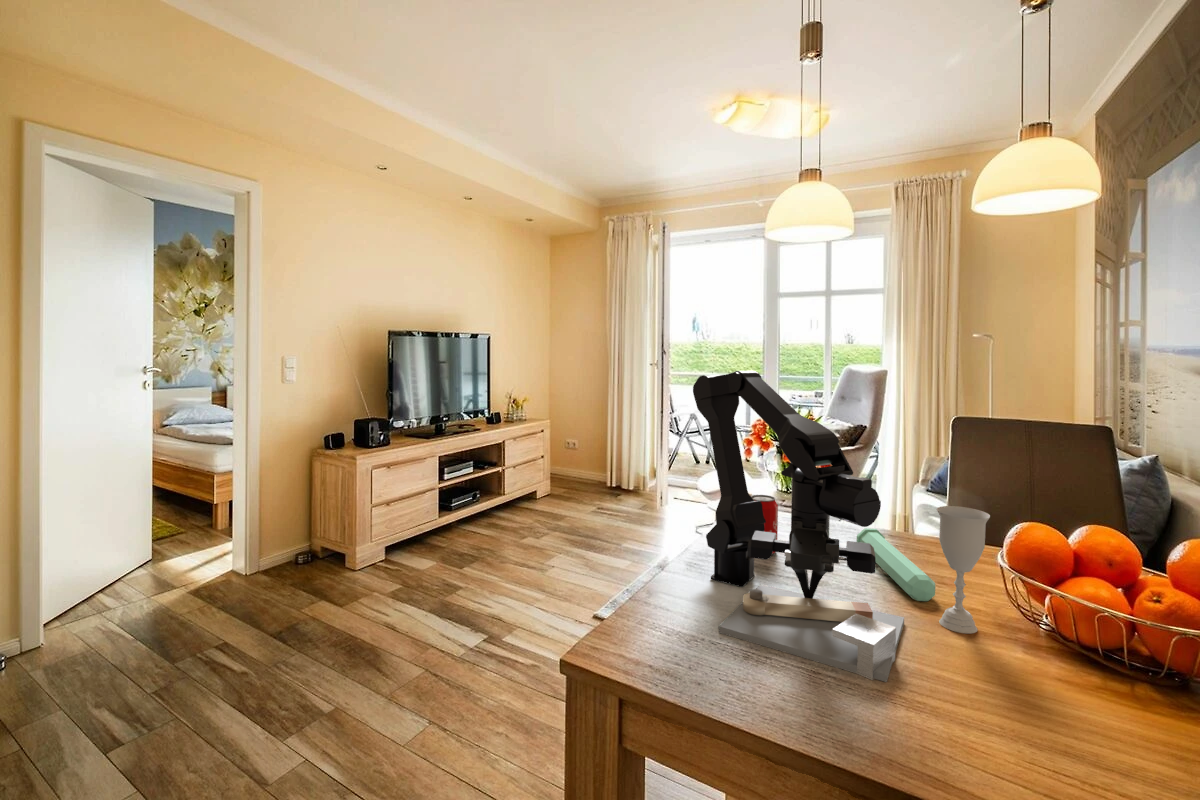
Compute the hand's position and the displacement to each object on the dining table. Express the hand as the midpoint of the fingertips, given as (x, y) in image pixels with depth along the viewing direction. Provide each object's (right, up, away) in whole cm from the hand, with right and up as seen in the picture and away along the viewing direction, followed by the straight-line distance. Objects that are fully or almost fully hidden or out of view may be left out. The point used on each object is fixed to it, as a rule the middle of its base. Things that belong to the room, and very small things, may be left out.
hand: (808, 601), depth 89 cm
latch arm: (-1, -1, -2) cm, 3 cm away
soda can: (+1, -1, +29) cm, 30 cm away
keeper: (+2, -3, -13) cm, 14 cm away
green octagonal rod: (+23, -2, +17) cm, 28 cm away
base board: (-1, -3, -4) cm, 5 cm away
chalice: (+22, -3, -3) cm, 23 cm away
